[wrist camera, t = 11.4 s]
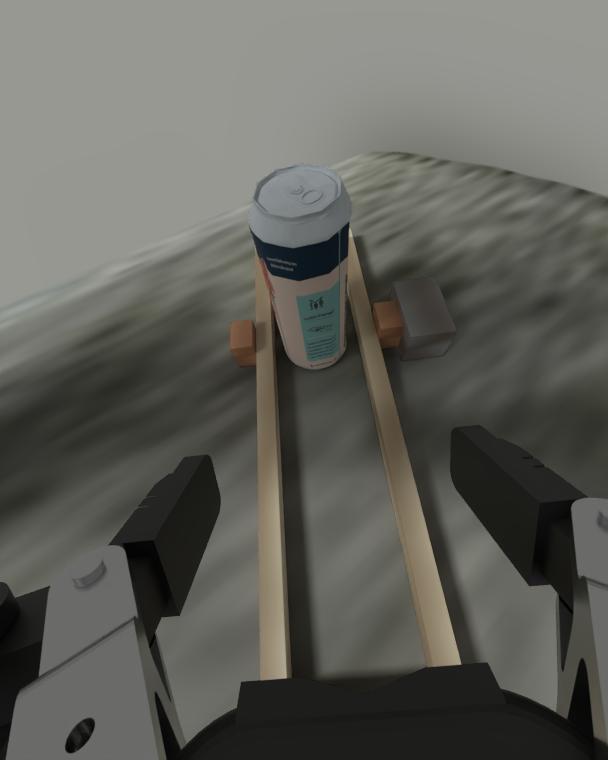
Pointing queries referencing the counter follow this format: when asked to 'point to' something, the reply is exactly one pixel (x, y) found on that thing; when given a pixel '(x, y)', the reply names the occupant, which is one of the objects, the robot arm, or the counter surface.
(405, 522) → the beam track
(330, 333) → the beer can
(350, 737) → the robot arm
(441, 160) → the counter surface
